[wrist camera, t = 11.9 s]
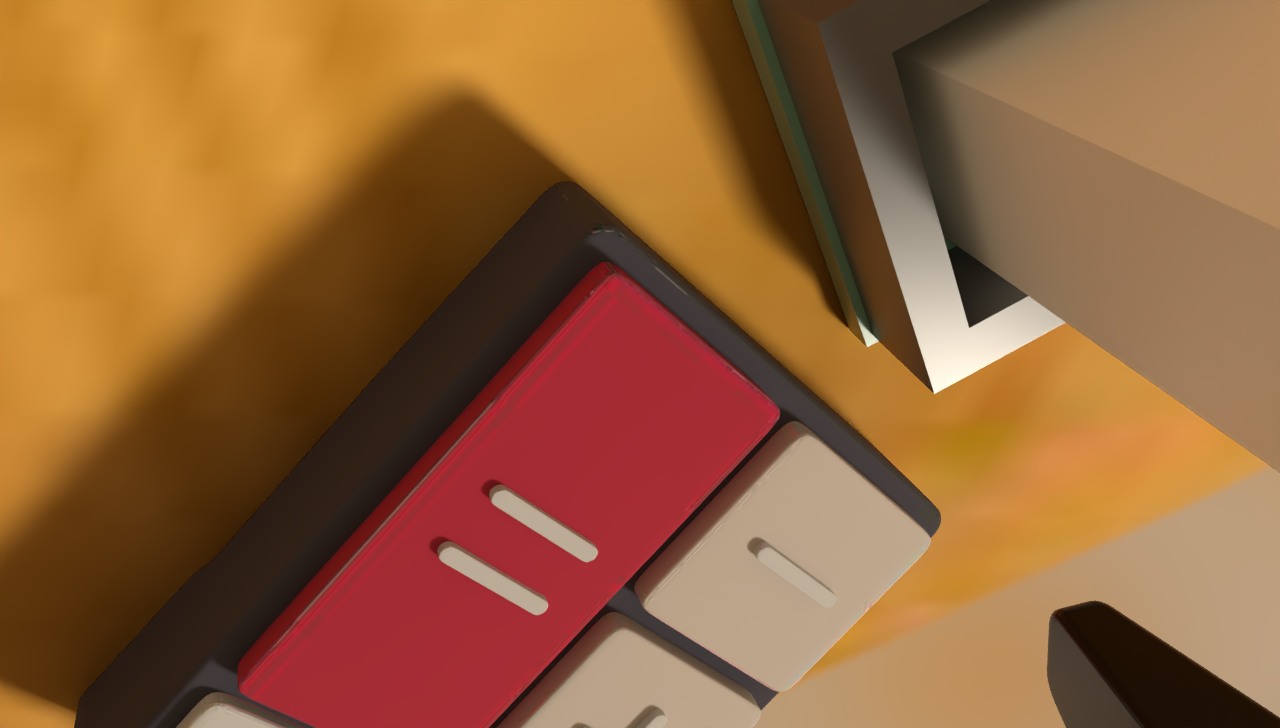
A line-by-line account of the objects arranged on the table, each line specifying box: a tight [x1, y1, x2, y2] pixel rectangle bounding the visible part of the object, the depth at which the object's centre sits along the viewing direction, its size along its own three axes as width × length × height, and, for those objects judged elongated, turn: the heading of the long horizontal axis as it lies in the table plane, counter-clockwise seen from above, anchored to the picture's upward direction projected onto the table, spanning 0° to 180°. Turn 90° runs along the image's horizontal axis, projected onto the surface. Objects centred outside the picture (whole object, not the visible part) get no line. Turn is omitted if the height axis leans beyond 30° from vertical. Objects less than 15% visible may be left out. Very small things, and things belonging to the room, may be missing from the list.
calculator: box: [74, 182, 941, 728], centre depth 23 cm, size 11×4×15 cm
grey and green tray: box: [732, 0, 1066, 394], centre depth 20 cm, size 8×8×3 cm
